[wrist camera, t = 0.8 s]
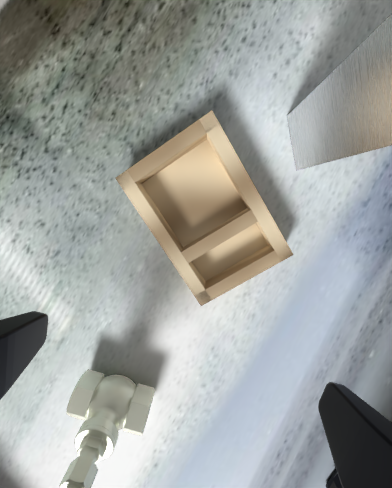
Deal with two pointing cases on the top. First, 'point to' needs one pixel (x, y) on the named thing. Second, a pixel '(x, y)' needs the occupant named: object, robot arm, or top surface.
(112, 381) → the valve
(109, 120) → the top surface
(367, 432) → the robot arm
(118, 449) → the top surface
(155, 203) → the holder
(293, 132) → the square bit
